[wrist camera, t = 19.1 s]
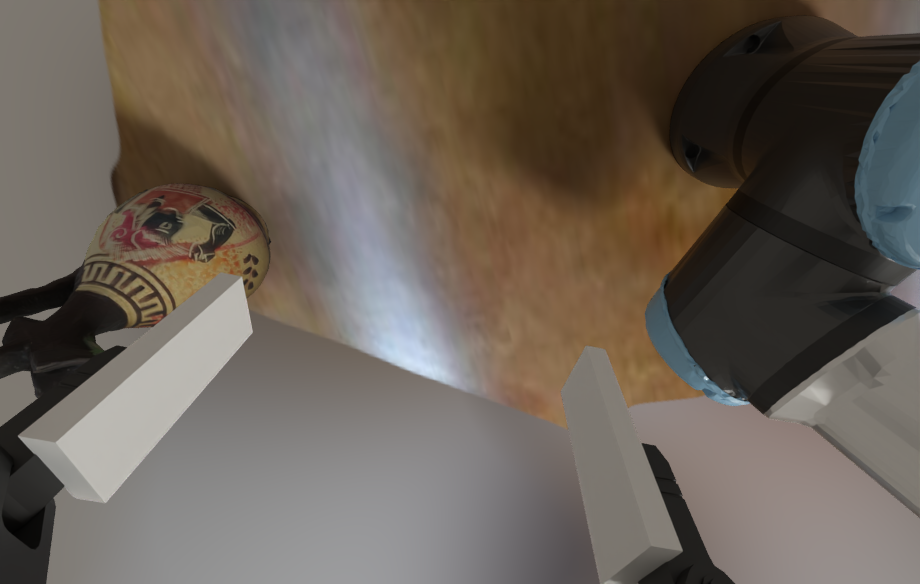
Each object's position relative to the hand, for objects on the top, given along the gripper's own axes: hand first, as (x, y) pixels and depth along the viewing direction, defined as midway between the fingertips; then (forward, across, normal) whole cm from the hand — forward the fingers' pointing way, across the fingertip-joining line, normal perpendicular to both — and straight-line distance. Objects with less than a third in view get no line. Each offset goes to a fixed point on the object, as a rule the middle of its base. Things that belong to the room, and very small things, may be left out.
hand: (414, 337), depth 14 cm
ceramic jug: (+33, -30, -16) cm, 47 cm away
